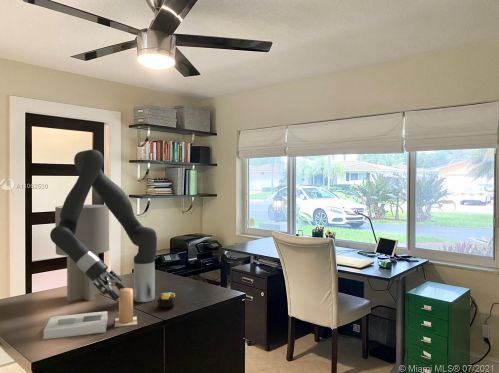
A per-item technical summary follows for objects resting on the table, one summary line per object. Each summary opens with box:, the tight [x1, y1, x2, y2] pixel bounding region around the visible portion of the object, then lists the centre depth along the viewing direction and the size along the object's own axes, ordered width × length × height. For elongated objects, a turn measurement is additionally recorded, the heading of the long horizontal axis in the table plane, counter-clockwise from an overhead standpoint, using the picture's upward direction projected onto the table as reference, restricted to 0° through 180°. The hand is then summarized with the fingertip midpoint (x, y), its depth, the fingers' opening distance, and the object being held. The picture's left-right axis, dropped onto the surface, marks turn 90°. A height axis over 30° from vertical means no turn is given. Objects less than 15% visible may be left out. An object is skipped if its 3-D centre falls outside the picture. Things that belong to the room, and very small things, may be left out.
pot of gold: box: [157, 292, 178, 309], centre depth 167 cm, size 6×13×6 cm, turn 179°
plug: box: [118, 287, 134, 323], centre depth 147 cm, size 5×5×12 cm
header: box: [43, 310, 108, 340], centre depth 141 cm, size 14×20×3 cm
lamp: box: [54, 204, 110, 303], centre depth 178 cm, size 23×23×43 cm
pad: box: [114, 316, 138, 328], centre depth 147 cm, size 8×8×1 cm
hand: (121, 295), depth 147 cm, fingers open, 8 cm apart
